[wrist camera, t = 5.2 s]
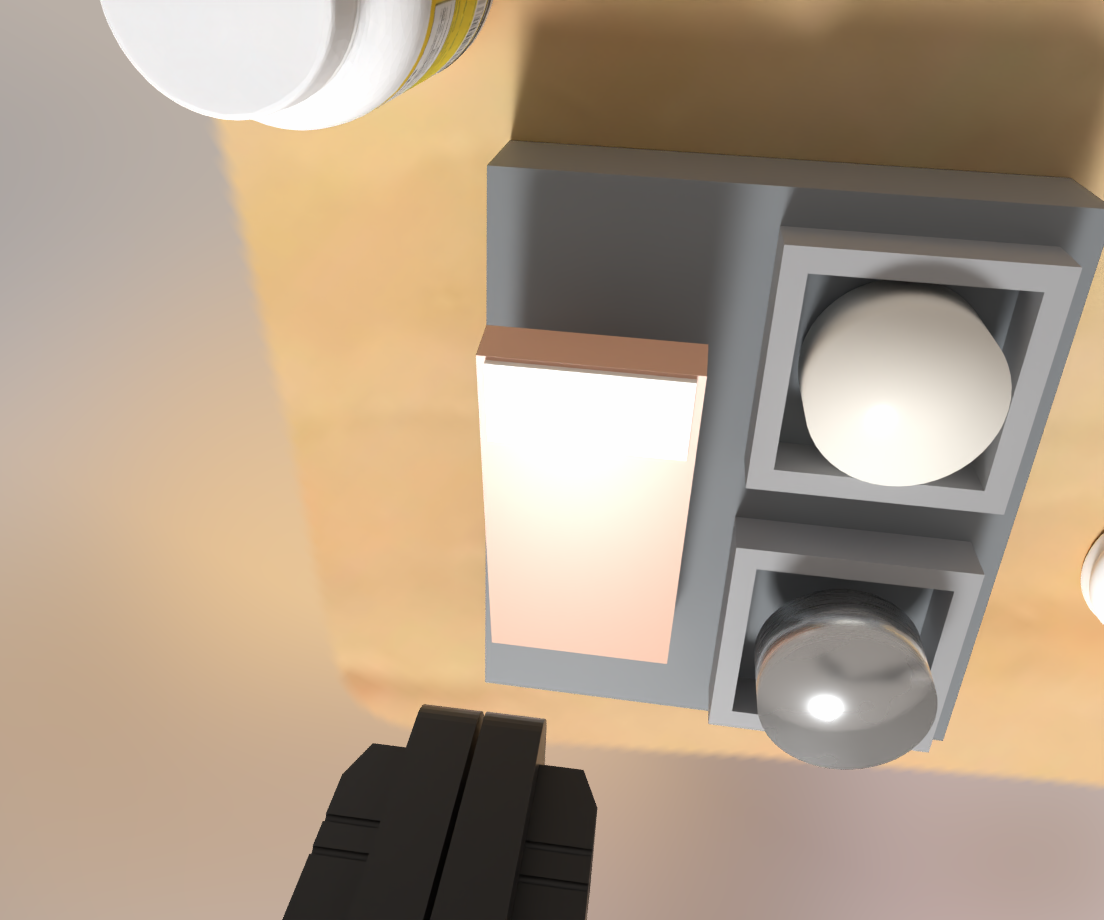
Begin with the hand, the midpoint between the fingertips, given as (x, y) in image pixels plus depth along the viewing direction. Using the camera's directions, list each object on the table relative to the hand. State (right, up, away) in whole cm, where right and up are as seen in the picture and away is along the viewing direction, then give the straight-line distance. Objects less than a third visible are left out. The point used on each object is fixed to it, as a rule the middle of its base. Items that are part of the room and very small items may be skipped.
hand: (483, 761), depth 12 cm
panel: (+6, +4, +17) cm, 18 cm away
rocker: (+2, +2, +13) cm, 13 cm away
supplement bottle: (-3, +16, +12) cm, 20 cm away
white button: (+9, +6, +12) cm, 16 cm away
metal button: (+9, -2, +14) cm, 17 cm away
